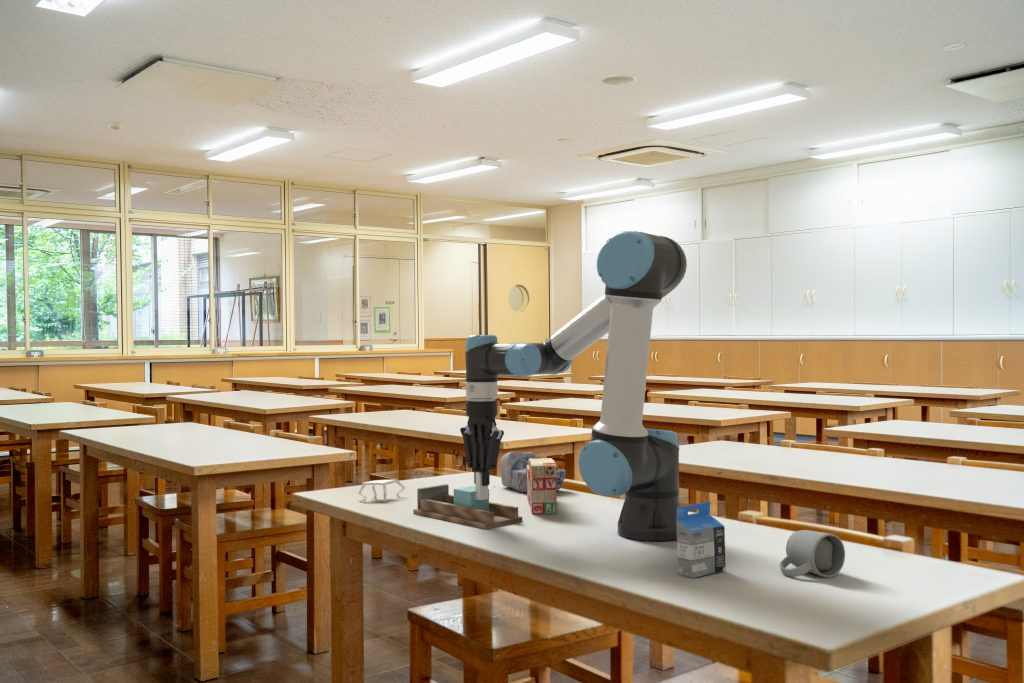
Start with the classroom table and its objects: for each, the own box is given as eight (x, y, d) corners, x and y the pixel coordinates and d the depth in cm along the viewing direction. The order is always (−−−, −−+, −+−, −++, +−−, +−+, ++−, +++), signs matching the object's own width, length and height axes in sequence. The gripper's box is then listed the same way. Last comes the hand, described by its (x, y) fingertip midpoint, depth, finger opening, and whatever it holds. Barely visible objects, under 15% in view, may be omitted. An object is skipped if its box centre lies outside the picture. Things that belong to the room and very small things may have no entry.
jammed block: (489, 513, 204) (488, 488, 204) (470, 517, 199) (470, 492, 199) (472, 510, 208) (472, 486, 208) (453, 514, 204) (453, 489, 204)
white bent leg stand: (375, 504, 223) (375, 485, 223) (357, 500, 229) (357, 482, 229) (411, 498, 232) (411, 480, 232) (392, 494, 238) (392, 476, 238)
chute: (522, 521, 200) (522, 495, 200) (485, 529, 192) (485, 502, 192) (449, 506, 218) (449, 483, 218) (413, 513, 210) (413, 489, 210)
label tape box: (692, 579, 150) (692, 509, 150) (675, 574, 153) (675, 506, 153) (726, 571, 155) (726, 504, 155) (709, 566, 158) (709, 501, 158)
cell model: (522, 447, 255) (572, 454, 241) (521, 483, 255) (571, 492, 241) (491, 451, 246) (541, 459, 232) (490, 488, 246) (540, 498, 232)
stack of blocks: (526, 499, 230) (526, 453, 230) (549, 498, 230) (549, 453, 230) (531, 515, 208) (531, 464, 208) (557, 514, 208) (556, 464, 208)
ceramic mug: (813, 564, 160) (812, 523, 160) (846, 574, 152) (845, 532, 152) (769, 572, 155) (768, 530, 155) (801, 583, 148) (800, 539, 148)
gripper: (451, 399, 203) (451, 497, 203) (489, 401, 194) (489, 504, 194) (474, 397, 208) (474, 493, 208) (512, 400, 199) (512, 500, 199)
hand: (481, 498), depth 201 cm, fingers closed
